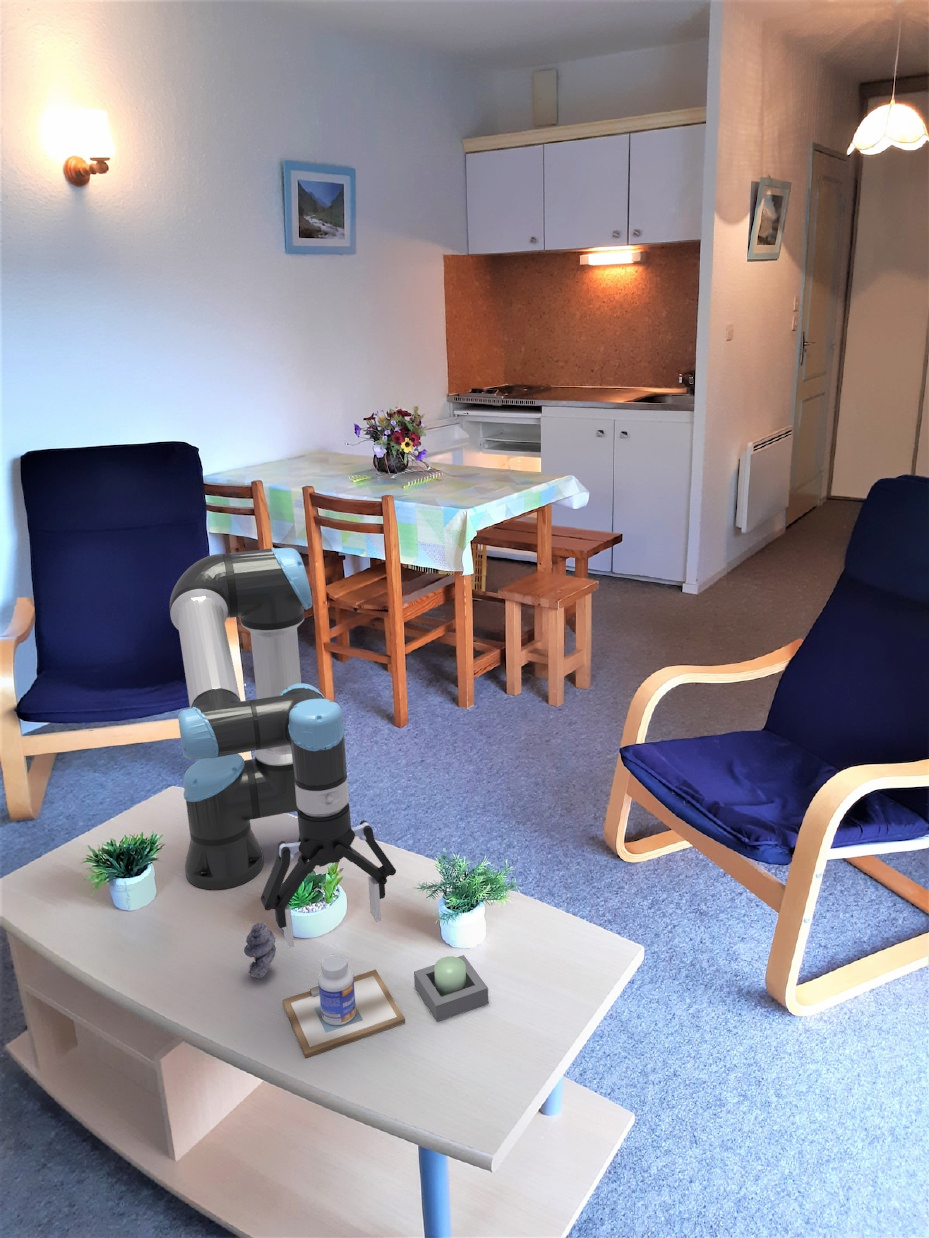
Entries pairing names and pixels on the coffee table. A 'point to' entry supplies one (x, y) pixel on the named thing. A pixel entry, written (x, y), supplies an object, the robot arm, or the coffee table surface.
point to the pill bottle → (336, 990)
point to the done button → (450, 975)
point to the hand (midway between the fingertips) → (333, 929)
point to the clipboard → (369, 1019)
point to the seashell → (260, 949)
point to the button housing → (455, 1001)
